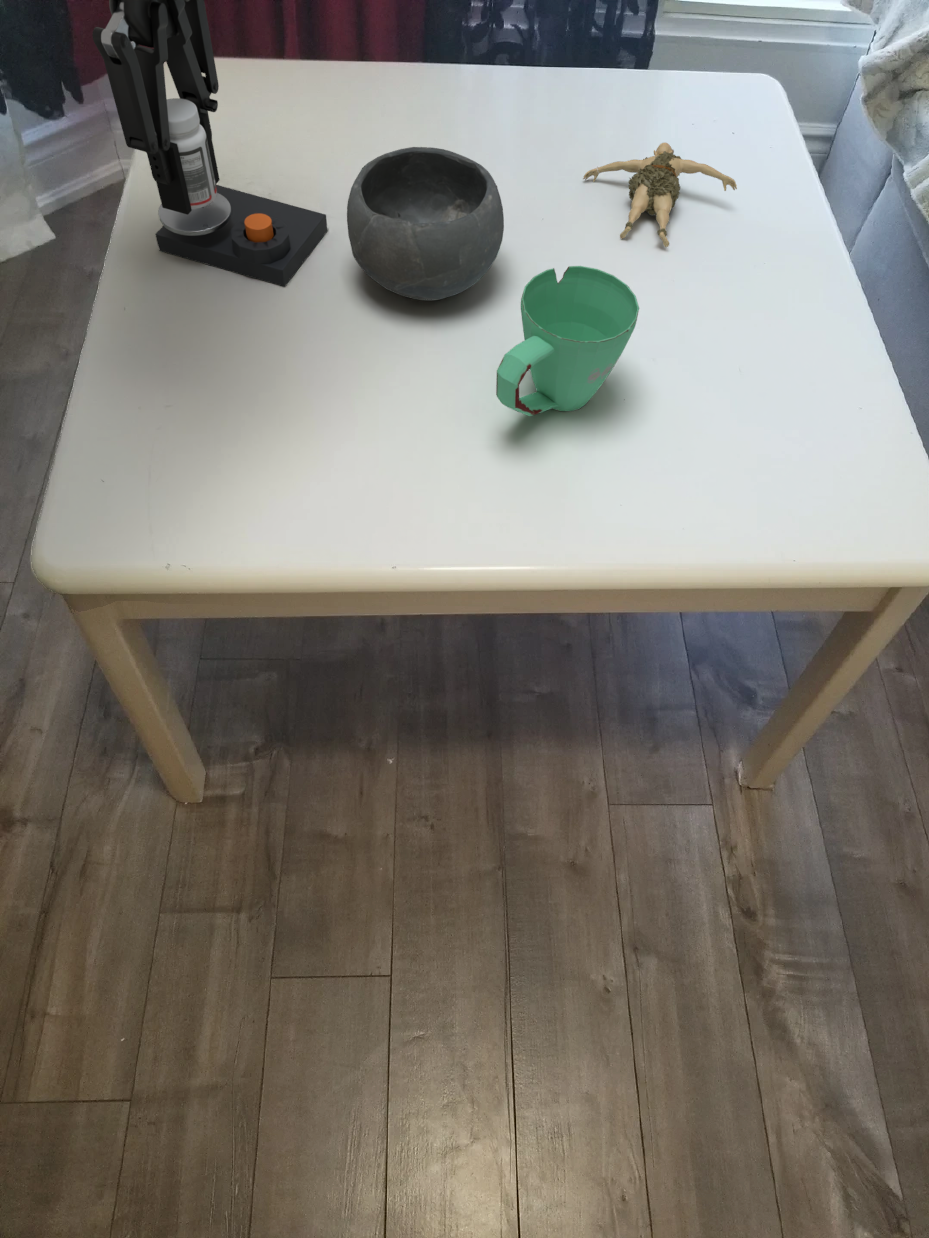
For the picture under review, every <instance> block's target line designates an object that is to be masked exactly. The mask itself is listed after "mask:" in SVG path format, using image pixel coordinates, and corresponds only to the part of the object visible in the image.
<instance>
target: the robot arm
mask: <svg viewBox="0 0 929 1238" xmlns="http://www.w3.org/2000/svg"><path fill="white" fill-rule="evenodd" d="M108 1H109V3H108V5H109V6H108V7H109V11H110V14H111V17H110V19H109V21H108V23H107V25H106V26H105V28H104V27H99V26H95V27H94V28H93V29H92V34H91V35H92V40H93V42H94V45H95V47H96V48H97V50H98V52H99V54H100V56H101V58H102V59H103V63H104V66H105V70H106V74H107V78H108V81H109V85H110V88H111V93H112V97H113V100H114V103H115V107H116V111H117V114H118V119H119V123H120V126H121V130H122V133H123V137H124V142H125V144H126V147H128V148H130V149H133V150H136V151H140V152H145V153H146V156H147V159H148V165H149V167H150V171H151V176H152V178H153V180H154V182H155V184H156V188H157V192H158V196H159V199H160V203H162V207H163V208H165V209H169V210H173V211H176V212H180V213H183V214H187V215H188V214H189V213H190V212H191V211H192V209H191V205H190V200H189V195H188V191H187V186H186V182H185V177H184V173H183V168H182V164H181V159H180V154H179V150H178V145H177V144H176V143H173V142H170V133H169V122H168V110H167V99H168V98H167V88H166V77H165V67H164V66H165V63H166V65H167V68H168V71H169V74H170V77H171V79H172V81H173V84H174V87H175V90H176V92H177V95H178V98H179V99H185V100H189V101H191V102H193V103H194V104H195V105H196V107H197V111H198V115H199V119H200V125H201V126H202V127H203V128H204V130H205V133H206V136H207V142H208V147H209V152H210V157H211V162H212V168H213V173H214V178H215V183H216V185H218V183H219V182H220V175H219V169H218V164H217V159H216V154H215V148H214V144H213V142H214V141H213V132H212V128H211V122H210V115H209V112H211V113H216V112H217V111H218V107H219V102H218V100H217V99H213V98H211V95H212V94H215V95H217V94H218V92H219V86H220V85H219V79H218V74H217V72H218V71H217V68H216V67H217V66H216V62H215V55H214V50H213V45H212V44H213V43H212V39H211V32H210V28H209V20H208V15H207V10H206V3H205V0H108ZM203 74H205V75H203ZM155 132H156V133H155Z"/></svg>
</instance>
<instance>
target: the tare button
mask: <svg viewBox="0 0 929 1238" xmlns="http://www.w3.org/2000/svg"><path fill="white" fill-rule="evenodd" d="M244 223H245V229H246V235H247V238H248V240H249V241H252V242H266V241H269V240H271V239H272V238H273V235H274V234H273V227H272V220H271V218H270V217H269V216H267V215H265V214H252V215H250V216H248V217H247V218H246V219H245V221H244Z"/></svg>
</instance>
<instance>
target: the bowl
mask: <svg viewBox="0 0 929 1238" xmlns="http://www.w3.org/2000/svg"><path fill="white" fill-rule="evenodd" d="M346 222H347V223H346V224H347V235H348V239H349V244H350V249H351V251H352V252H351V253H352V255H353V258H354V260H355V261H356V263H357V264H358V265H359V267H360V268H361V269H362V271H364V273H365V274H366V275H367V276H369V277H370V278H371V279H372V280H373V281H374V282H376V283H377V284H379V285H380V286H381V287H383V288H385V289H386V290H388V291H391V292H392V293H395V294H397V295H399V296H402V297H405V298H410V299H413V300H417V301H418V300H419V301H438V300H443V299H445V298H446V299H447V298H449V297H453V296H455V295H458V294H460V293H462V292H464V291H466V290H468V289H469V288H471V287H472V286H474V285H475V284H476V283H477V282H479V281H480V280H481V278H483V276H485V274H487V272H488V271H489V269H491V267H492V265H493V263H494V262H495V260H496V258H497V257H498V254H499V251H500V250H501V246H502V242H503V238H504V230H505V219H504V207H503V203H502V198H501V195H500V192H499V188H498V186H497V183H496V181H495V180H494V178H493V175H492V174H491V173H490V172H489V171H488V169H486V168H485V167H484V166H483V165H482V164H480V163H478V162H476V161H475V160H473V159H470V158H469V157H467V156H464V155H461V154H459V153H456V152H454V151H451V150H448V149H444V148H438V147H428V146H410V147H404V148H400V149H396V150H393V151H389V152H386V153H383V154H381V155H379V156H377V157H375V158H373V159H372V160H370V161H368V162H367V163H366V164H365V165H364V166H363V167H362V168H361V170H360V171H359V172H358V174H357V175H356V178H355V179H354V181H353V184H352V186H351V187H350V191H349V195H348V199H347V205H346Z"/></svg>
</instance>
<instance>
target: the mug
mask: <svg viewBox="0 0 929 1238" xmlns="http://www.w3.org/2000/svg"><path fill="white" fill-rule="evenodd" d="M639 311H640V306H639V303H638V299H637V296H636V294H635V293H634V292H633V291H632V289H631V288H630V287H629V286H628V284H627V283H625V282H624V281H622V280H621V279H620V278H618V277H616V275H614V274H611V273H609V272H606V271H605V270H602V269H600V268H594V267H590V266H589V267H588V266H584V265H570V266H568V267H567V268H566V269H565V270H564V272H563V275H562V277H561V279H560V280H558V279H557V273H556V270H555V267H553V268H548V269H546V270H543V271H541V272H540V273H538V274H536V275H534V276H533V277H532V278H531V279H530V280H529V281H528V282H527V283H526V285H524V288H523V291H522V294H521V298H520V314H521V322H522V331H523V338H524V340H523V341H521V342H520V343H518V344H516V345H514V346H513V348H511V349H510V350H509V351H507V352H506V353H505V354H504V355H503V357H502V359H501V361H500V363H499V365H498V367H497V368H496V369H497V370H496V387H495V395H496V398H497V399H498V400H499V402H500V403H501V404H502V405H504V407H507V408H508V409H511V410H514V411H515V412H518V413H520V414H523V415H526V416H528V417H533V416H536V415H538V414H540V413H544V412H547V411H549V410H551V409H553V410H555V411H560V412H574V411H577V410H580V409H581V408H583V407H585V406H586V404H588V403H589V401H590V400H591V399H592V398H593V396H594V395H595V394H596V393H597V392H598V390H599V389H600V388H601V386H602V385H603V384H604V382H605V381H606V379H608V378H607V377H608V376H609V375H610V374H611V372H612V371H613V369H614V368H615V366H616V364H617V362H618V361H619V359H620V358H621V356H622V354H623V353H624V350H625V349H626V347H627V344H628V343H629V340H630V338H631V337H632V334H633V332H634V331H635V328H636V325H637V321H638V316H639ZM529 371H530V375H531V379H532V382H533V384H534V388H535V390H536V391H534V392H532V393H529V394H526V395H524V396H521V397H520V385H521V383H522V381H523V379H524V377H525V376H526V374H527V373H528V372H529Z"/></svg>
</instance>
